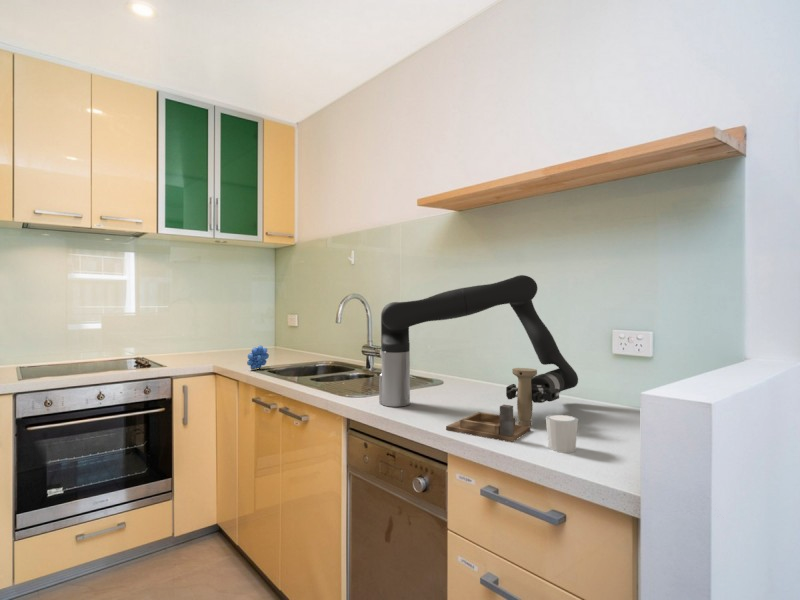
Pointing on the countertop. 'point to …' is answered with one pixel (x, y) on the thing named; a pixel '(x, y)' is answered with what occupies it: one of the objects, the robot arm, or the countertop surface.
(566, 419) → the white faceted cup
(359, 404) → the countertop surface
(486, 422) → the seat board
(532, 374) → the handle
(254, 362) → the grapes
